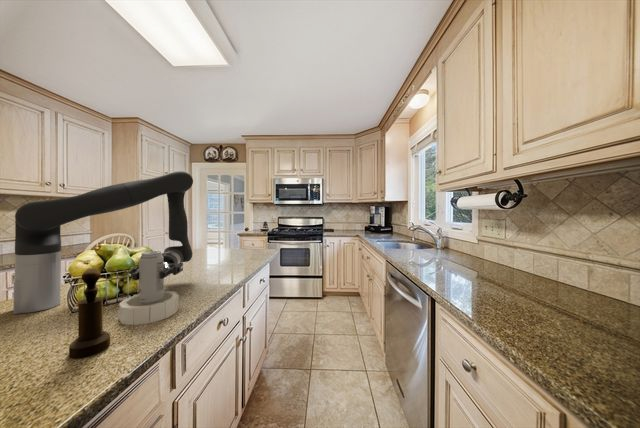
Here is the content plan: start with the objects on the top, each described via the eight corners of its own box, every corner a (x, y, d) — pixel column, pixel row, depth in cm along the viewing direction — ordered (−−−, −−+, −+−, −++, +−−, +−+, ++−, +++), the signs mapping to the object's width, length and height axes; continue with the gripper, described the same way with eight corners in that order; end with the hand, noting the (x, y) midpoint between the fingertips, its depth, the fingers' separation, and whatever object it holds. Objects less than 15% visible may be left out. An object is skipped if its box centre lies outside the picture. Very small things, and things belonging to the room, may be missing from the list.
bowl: (125, 330, 61) (126, 312, 60) (115, 314, 70) (115, 299, 70) (184, 313, 71) (184, 298, 71) (168, 301, 80) (169, 288, 80)
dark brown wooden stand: (78, 345, 54) (79, 267, 53) (114, 339, 56) (115, 265, 56) (61, 362, 48) (62, 274, 47) (103, 354, 50) (104, 271, 50)
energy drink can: (144, 298, 73) (144, 251, 72) (166, 297, 74) (166, 250, 74) (135, 306, 67) (134, 255, 67) (159, 304, 69) (159, 254, 68)
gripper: (142, 253, 82) (118, 265, 66) (188, 251, 86) (176, 262, 70) (142, 274, 82) (118, 291, 66) (188, 272, 86) (176, 286, 70)
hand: (148, 276), depth 68 cm, fingers closed on energy drink can, 6 cm apart
